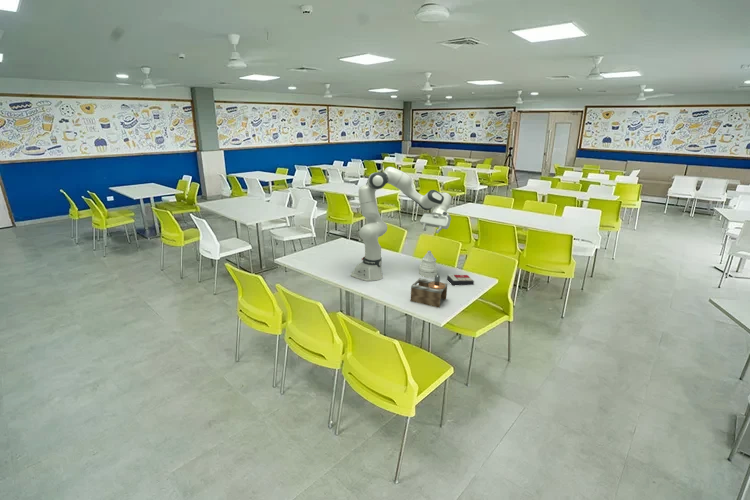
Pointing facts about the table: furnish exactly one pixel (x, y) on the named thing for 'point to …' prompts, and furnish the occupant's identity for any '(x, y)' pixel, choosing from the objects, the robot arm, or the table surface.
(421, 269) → the white ridged cone
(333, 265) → the table surface
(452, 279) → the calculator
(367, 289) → the table surface
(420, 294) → the wood and metal frame
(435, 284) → the spinning top
